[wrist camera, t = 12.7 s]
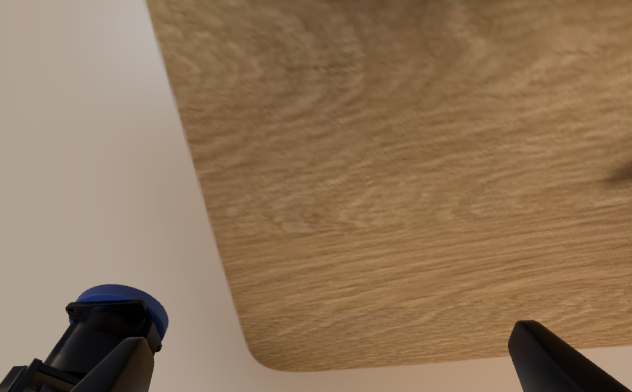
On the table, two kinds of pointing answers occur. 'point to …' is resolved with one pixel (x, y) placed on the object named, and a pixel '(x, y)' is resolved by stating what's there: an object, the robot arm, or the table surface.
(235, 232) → the table surface
